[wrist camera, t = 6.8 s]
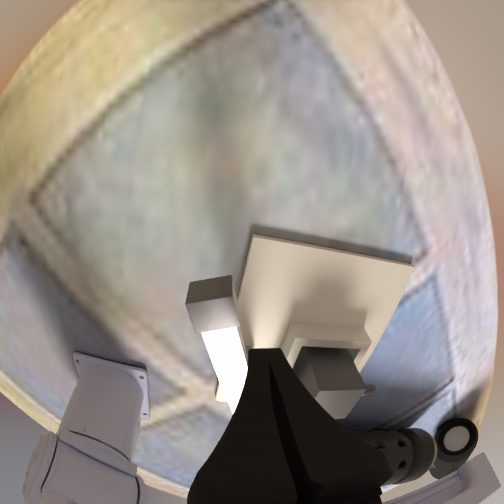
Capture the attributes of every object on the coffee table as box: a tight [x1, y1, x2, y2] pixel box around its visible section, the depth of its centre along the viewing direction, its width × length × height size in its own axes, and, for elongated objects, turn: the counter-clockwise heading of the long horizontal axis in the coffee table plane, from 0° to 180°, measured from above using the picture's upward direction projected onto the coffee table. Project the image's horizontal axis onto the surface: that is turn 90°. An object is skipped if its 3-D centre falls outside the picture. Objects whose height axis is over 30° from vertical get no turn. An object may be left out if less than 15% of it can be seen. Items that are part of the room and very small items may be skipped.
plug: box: [292, 346, 376, 419], centre depth 22 cm, size 4×7×6 cm, turn 78°
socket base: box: [215, 234, 415, 402], centre depth 23 cm, size 18×14×3 cm
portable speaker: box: [429, 418, 478, 479], centre depth 39 cm, size 26×10×10 cm, turn 27°
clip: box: [185, 275, 253, 413], centre depth 18 cm, size 2×12×8 cm, turn 10°
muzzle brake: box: [349, 428, 437, 486], centre depth 29 cm, size 10×28×10 cm, turn 64°
